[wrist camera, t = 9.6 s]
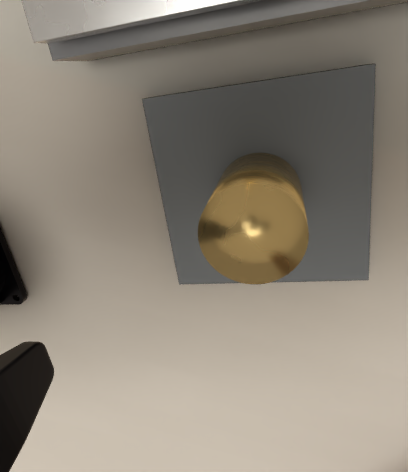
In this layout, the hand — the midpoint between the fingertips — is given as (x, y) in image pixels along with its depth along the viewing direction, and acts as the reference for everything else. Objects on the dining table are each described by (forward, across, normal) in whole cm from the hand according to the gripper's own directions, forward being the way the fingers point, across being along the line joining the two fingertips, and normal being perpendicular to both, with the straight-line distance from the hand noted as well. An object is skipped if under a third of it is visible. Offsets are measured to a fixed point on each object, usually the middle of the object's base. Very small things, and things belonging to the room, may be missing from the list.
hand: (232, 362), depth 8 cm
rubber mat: (+12, 0, 0) cm, 12 cm away
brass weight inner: (+11, 0, 0) cm, 11 cm away
